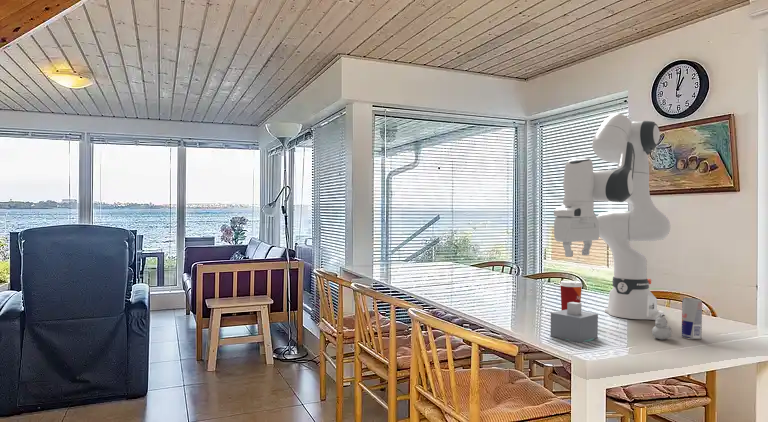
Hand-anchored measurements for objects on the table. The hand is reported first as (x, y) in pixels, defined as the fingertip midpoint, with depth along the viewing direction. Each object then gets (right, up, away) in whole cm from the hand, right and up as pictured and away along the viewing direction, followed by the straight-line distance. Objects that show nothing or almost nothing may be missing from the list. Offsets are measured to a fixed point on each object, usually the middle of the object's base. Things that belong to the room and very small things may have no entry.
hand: (577, 256), depth 163 cm
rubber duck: (+26, -26, 0) cm, 37 cm away
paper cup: (+6, -25, +24) cm, 35 cm away
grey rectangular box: (-1, -25, +1) cm, 25 cm away
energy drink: (+36, -26, +2) cm, 44 cm away
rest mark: (0, -25, 0) cm, 25 cm away
